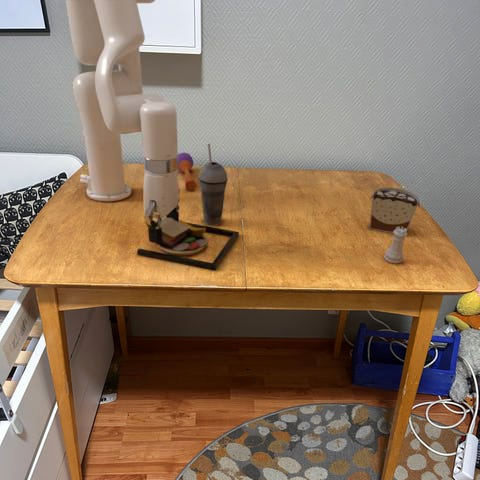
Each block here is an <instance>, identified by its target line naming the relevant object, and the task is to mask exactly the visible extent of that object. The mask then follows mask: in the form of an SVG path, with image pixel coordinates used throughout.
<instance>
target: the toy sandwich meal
mask: <svg viewBox="0 0 480 480" xmlns="http://www.w3.org/2000/svg"><path fill="white" fill-rule="evenodd" d="M155 222H156V223H157V221H155ZM185 222H186V221H183V220H182V219H179V222H177V221H175V220H174V219H173V218H166V217H164V218H162V221H161V225H160V228H162V243H161V244H158V243H155V246H156V247H157V248H158V249H160V250H161V251H162V252H163V253H165V254H170V255H175V256H180V257H185V256H191V255H195V254H198V253H200V252H201V251H203V250H204V249H205V248H206V246H207V245H208V242H209V241H208V238H207V236H206V235H205V233H206V232H205V230H206V228H196V227H193V226H191V225H189V224H187V223H188V222H187V223H185Z"/></svg>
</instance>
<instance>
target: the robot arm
mask: <svg viewBox="0 0 480 480" xmlns="http://www.w3.org/2000/svg"><path fill="white" fill-rule="evenodd" d="M155 1H156V0H65V5H66V11H67V12H66V13H67V18H68V25H69V31H70V38H71V43H72V44H71V45H72V49H73V52H74V56H75V59H76V60H77V61H78V62H79V64H81V65H85V66H95V70H94V71H86V72H82V73H80V74H78V75H77V76H75V78H74V79H73V82H72V93H73V97H74V99H75V103H76V106H77V109H78V113H79V116H80V122H81V129H82V134H83V139H84V146H85V153H86V160H87V165H88V173H89V175H88V174H83V173H82V174H80V178H79V183H80V184H81V185H86V186H87V188H86V196H87V197H88V198H89V199H91V200H94V201H97V202H116V201H121V200H124V199H126V198H129V197H130V196H131V195H132V187H131V186H130V185H129V184H127V183H126V177H125V169H124V168H125V167H124V159H123V158H124V157H123V150H122V149H123V148H122V147H123V146H122V139H121V135H128V134H135V133H141V145H142V161H143V171H144V175H143V185H142V186H143V189H142V190H143V191H142V192H143V197H142V198H143V219H144V221H145V225H146V227H147V231H148V232H147V233H148V242H150V243H153V244H156V243H158V244H161V243H162V228H160V225H161V221H162V219H164V218H173V219H174V220H175V221H177V222H179V220H180V213H179V212H180V211H179V210H180V205H179V203H180V200H181V199H180V193H181V189H180V188H179V177H178V172H179V170H178V154H179V150H178V149H179V147H178V146H179V145H178V144H179V143H178V115H177V109H176V107H175V106H174V104H173V103H170V102H167V101H165V99H164V98H163V97H162V96H161V95H160V94H157V93H152V92H151V93H150V92H149V93H144V92H143V79H142V65H141V64H142V63H141V54H140V47H141V46H142V45H143V44H144V43H145V39H146V38H145V32H144V28H143V27H144V26H143V23H142V20H141V15H140V11H139V7H138V4H152V3H155ZM115 65H117V66H118V70H117V69H115V70H113V69H114V66H115ZM155 219H156V221H155ZM156 222H157V223H156Z"/></svg>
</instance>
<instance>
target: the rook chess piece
mask: <svg viewBox="0 0 480 480" xmlns="http://www.w3.org/2000/svg"><path fill="white" fill-rule="evenodd" d="M403 228H404V227H401V229H400V227H396V229H395V230H394V231H393V233H392V234H393V236H392V241H391V244H390V246H389V247H388V248H387V250H386V251H384V255H383V258H384V260H385V262H388V263H390V264H400V263H401V262H403V261H404V251H403V246H404V242H405V240H406V239H405V237H407V236H408V230H407V229H406V228H405V229H403Z"/></svg>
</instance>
